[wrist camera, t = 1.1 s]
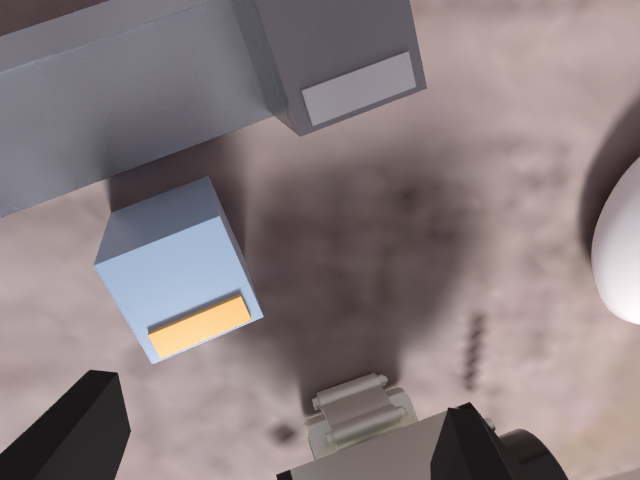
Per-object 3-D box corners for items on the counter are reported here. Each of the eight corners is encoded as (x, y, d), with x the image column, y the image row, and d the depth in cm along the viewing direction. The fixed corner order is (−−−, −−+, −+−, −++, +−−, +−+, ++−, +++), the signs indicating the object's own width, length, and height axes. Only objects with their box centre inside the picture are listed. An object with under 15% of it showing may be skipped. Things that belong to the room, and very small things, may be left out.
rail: (-99, 248, 18) (-221, 346, 12) (-205, 114, 16) (-410, 158, 10) (359, 78, 20) (431, 95, 14) (323, -61, 18) (392, -104, 12)
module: (156, 294, 21) (152, 368, 16) (111, 212, 19) (92, 268, 15) (244, 258, 22) (264, 320, 17) (208, 175, 20) (220, 218, 15)
